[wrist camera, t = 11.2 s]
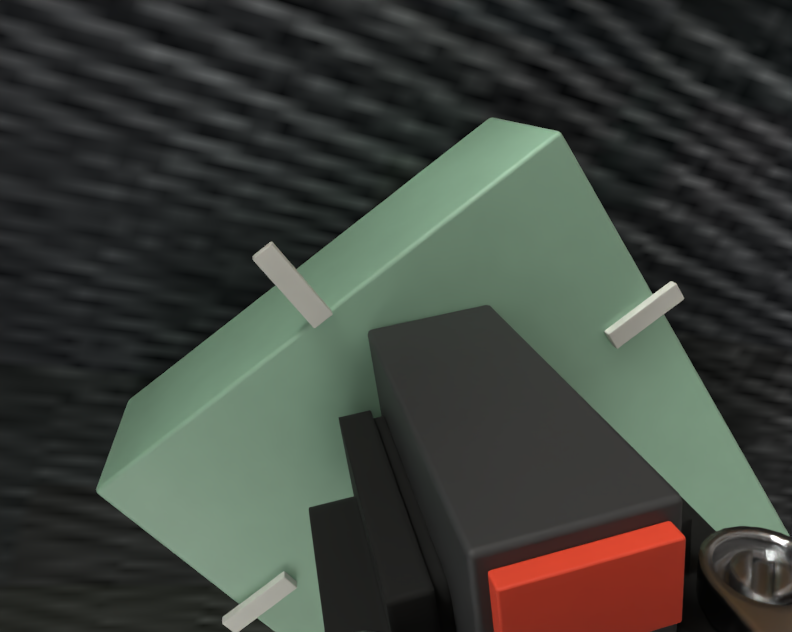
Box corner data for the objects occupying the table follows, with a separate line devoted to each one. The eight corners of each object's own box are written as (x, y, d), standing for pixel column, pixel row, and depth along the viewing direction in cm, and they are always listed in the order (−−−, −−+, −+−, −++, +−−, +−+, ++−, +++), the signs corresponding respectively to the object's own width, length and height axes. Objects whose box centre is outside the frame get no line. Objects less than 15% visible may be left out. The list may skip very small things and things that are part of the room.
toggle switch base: (733, 484, 17) (831, 570, 14) (442, 694, 18) (480, 817, 15) (468, 40, 12) (541, 31, 9) (58, 364, 12) (-1, 458, 9)
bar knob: (512, 566, 12) (680, 887, 7) (412, 594, 12) (519, 946, 7) (488, 302, 10) (704, 513, 5) (366, 328, 10) (475, 577, 5)
